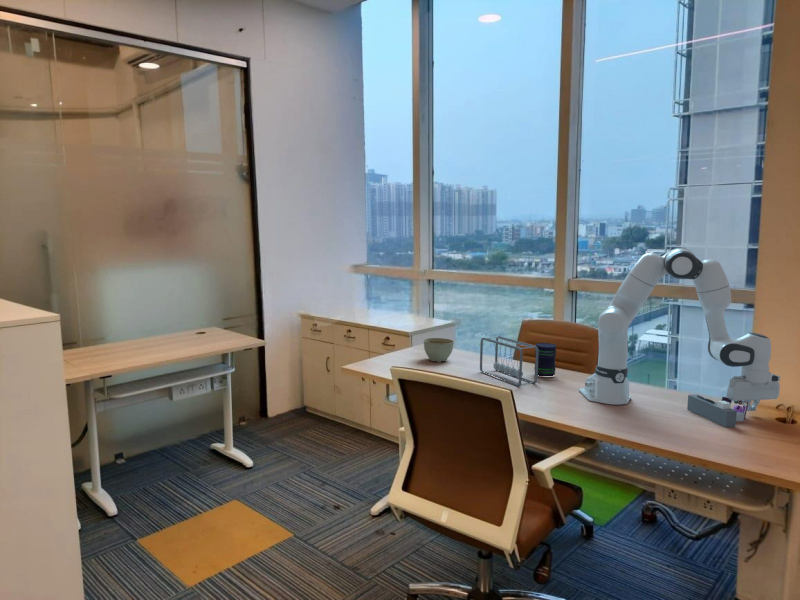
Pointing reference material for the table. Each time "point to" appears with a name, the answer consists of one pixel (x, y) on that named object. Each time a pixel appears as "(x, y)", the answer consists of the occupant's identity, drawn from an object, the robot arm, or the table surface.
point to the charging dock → (714, 410)
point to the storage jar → (546, 359)
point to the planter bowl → (438, 348)
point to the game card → (738, 408)
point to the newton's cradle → (507, 368)
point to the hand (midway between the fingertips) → (750, 410)
